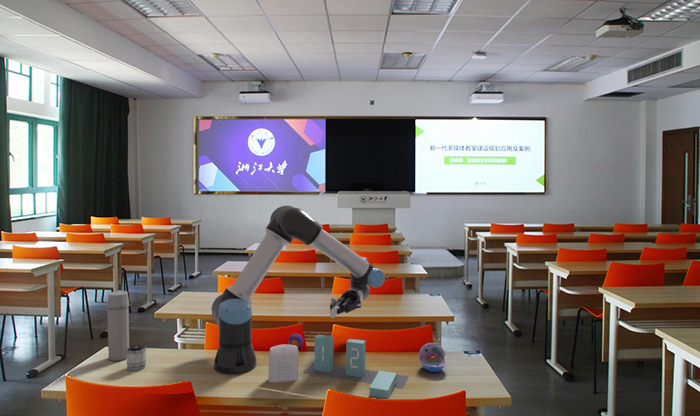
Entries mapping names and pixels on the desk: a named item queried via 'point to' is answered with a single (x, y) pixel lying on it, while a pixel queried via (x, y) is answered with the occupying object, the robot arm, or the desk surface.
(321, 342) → the tile
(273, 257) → the robot arm
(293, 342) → the kendama
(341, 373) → the mat
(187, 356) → the desk surface
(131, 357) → the camera lens
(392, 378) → the tile
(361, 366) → the tile
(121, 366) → the desk surface
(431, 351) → the cell model
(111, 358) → the water bottle
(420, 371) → the desk surface
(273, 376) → the photo printer
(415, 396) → the desk surface
